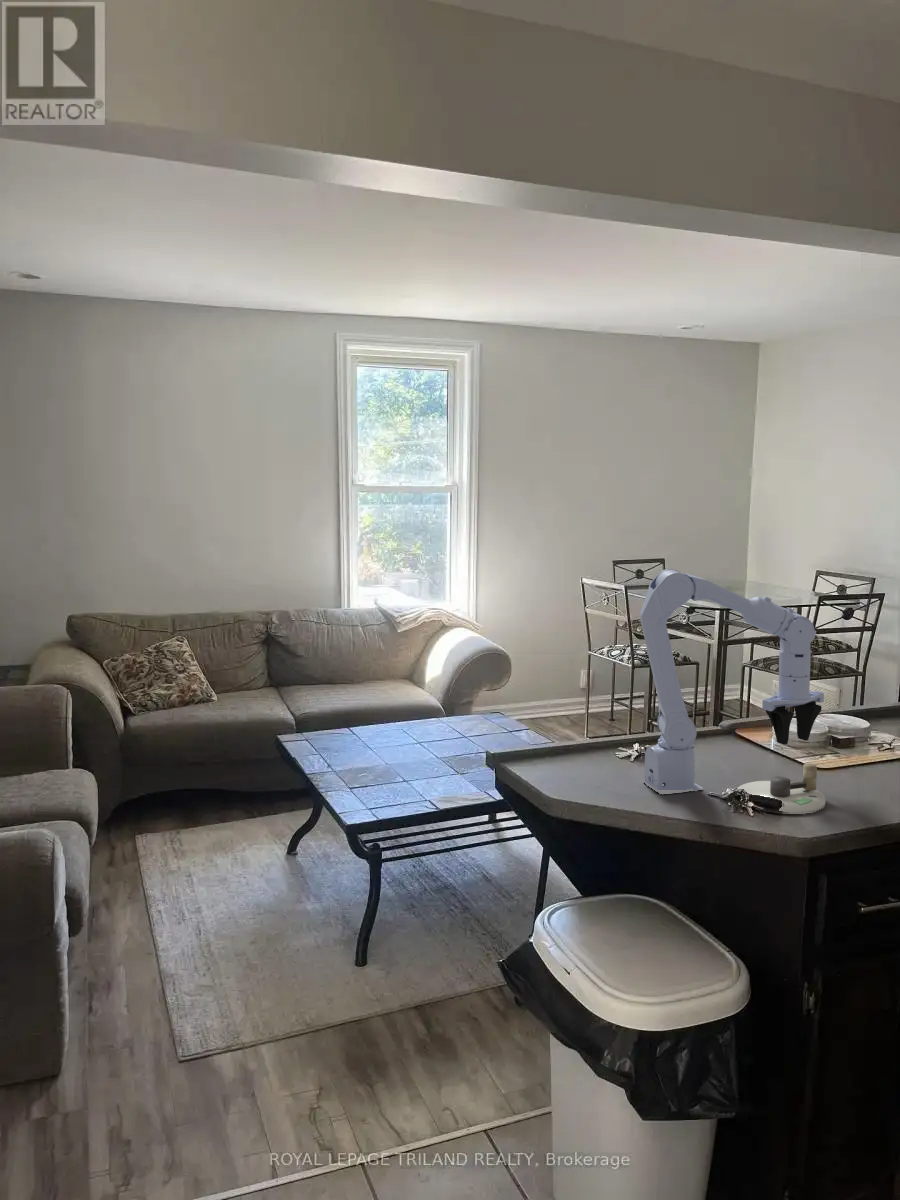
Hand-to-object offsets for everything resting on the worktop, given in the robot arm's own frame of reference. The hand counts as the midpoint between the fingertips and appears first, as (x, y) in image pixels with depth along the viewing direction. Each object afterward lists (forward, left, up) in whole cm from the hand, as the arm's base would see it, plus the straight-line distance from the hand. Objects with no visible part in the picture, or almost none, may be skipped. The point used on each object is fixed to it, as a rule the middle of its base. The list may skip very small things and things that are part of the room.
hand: (792, 741), depth 171 cm
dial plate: (-6, -5, -9) cm, 13 cm away
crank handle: (-4, -5, -8) cm, 10 cm away
